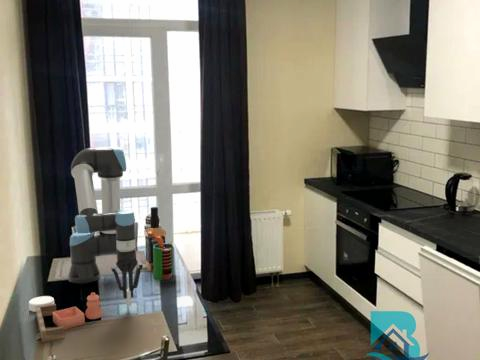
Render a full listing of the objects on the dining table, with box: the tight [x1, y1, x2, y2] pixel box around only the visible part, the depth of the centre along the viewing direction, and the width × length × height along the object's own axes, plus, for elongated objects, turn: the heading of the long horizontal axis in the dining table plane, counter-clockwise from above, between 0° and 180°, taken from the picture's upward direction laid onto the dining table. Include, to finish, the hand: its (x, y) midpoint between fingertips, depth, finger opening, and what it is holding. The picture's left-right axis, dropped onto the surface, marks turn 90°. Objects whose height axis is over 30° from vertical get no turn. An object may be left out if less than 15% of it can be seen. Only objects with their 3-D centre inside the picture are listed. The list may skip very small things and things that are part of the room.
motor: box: [153, 236, 174, 281], centre depth 253 cm, size 10×9×20 cm
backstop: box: [35, 303, 65, 343], centre depth 198 cm, size 26×8×4 cm, turn 25°
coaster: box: [28, 295, 55, 313], centre depth 217 cm, size 10×10×4 cm
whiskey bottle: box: [144, 206, 167, 273], centre depth 266 cm, size 10×10×32 cm
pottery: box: [52, 291, 103, 330], centre depth 203 cm, size 18×10×10 cm, turn 128°
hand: (128, 305), depth 213 cm, fingers closed
